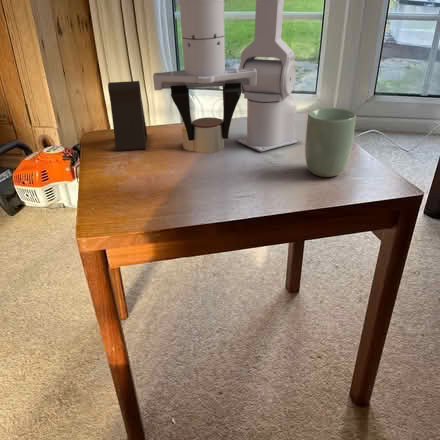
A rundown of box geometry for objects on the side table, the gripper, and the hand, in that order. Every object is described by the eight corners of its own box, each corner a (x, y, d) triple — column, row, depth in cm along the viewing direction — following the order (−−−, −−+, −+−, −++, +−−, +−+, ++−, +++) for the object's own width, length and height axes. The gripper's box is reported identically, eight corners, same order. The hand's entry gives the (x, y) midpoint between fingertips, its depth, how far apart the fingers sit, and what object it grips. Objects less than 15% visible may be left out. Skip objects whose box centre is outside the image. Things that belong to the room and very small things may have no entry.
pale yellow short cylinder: (199, 141, 95) (198, 122, 93) (211, 147, 92) (210, 127, 89) (179, 146, 93) (177, 126, 91) (190, 152, 90) (189, 132, 87)
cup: (310, 183, 76) (316, 122, 70) (297, 166, 82) (301, 109, 76) (355, 179, 77) (364, 118, 71) (338, 163, 83) (345, 106, 77)
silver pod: (213, 141, 73) (212, 115, 70) (230, 149, 69) (229, 122, 67) (187, 147, 71) (185, 121, 68) (203, 155, 67) (201, 128, 65)
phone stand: (145, 149, 92) (137, 86, 85) (116, 151, 91) (105, 88, 84) (147, 136, 99) (140, 76, 92) (120, 137, 99) (110, 78, 92)
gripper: (147, 43, 58) (158, 148, 66) (259, 38, 58) (257, 144, 66) (151, 35, 63) (161, 133, 71) (254, 31, 64) (252, 129, 72)
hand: (207, 137), depth 69 cm, fingers closed on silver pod, 5 cm apart
